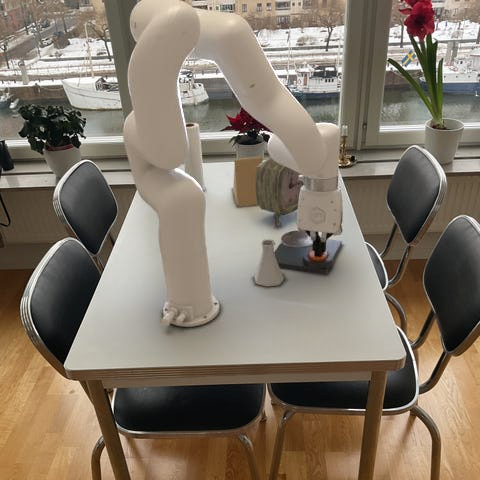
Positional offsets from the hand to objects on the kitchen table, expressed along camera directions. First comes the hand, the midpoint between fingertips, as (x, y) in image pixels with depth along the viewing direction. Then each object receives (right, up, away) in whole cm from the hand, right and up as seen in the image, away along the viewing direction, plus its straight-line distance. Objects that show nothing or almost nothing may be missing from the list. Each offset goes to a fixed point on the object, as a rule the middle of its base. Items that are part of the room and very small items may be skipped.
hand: (319, 253), depth 131 cm
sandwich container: (-17, +23, +41) cm, 50 cm away
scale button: (0, -2, +1) cm, 2 cm away
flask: (-12, -7, -2) cm, 14 cm away
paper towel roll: (-34, +27, +48) cm, 65 cm away
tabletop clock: (-7, +13, +26) cm, 30 cm away
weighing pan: (-4, +5, +8) cm, 10 cm away
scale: (-2, 0, +7) cm, 7 cm away
